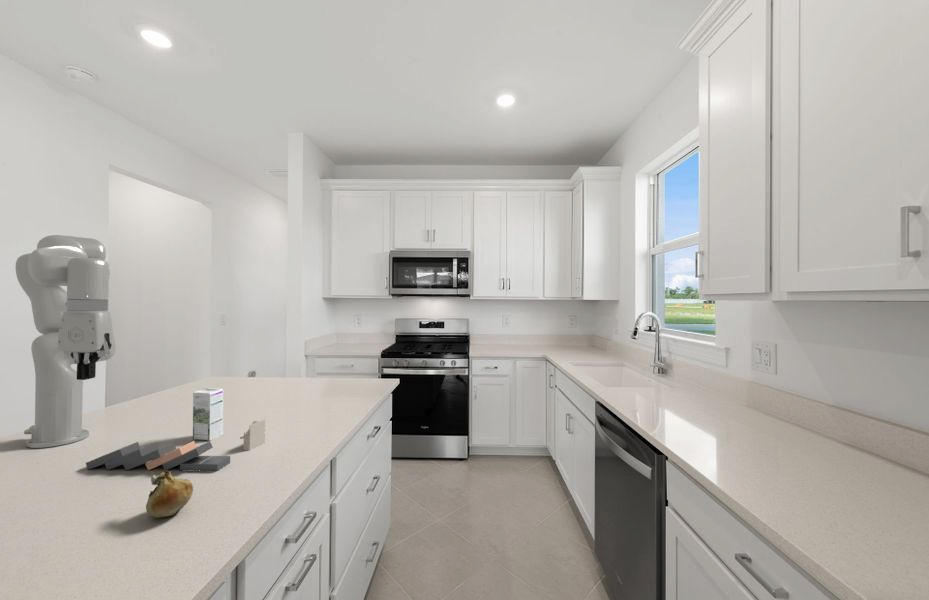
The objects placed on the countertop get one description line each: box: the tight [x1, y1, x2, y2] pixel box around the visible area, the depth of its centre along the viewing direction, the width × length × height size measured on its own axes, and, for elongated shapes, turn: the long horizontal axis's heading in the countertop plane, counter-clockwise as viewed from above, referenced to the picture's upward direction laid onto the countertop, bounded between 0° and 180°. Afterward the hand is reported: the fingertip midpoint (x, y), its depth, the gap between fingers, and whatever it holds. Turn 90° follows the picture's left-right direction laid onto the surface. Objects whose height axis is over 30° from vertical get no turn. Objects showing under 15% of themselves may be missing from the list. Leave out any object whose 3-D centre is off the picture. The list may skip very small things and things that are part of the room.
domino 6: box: [179, 455, 231, 472], centre depth 95 cm, size 2×5×9 cm
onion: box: [145, 469, 194, 519], centre depth 74 cm, size 8×8×8 cm
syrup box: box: [192, 387, 224, 442], centre depth 115 cm, size 6×6×14 cm
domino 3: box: [122, 442, 177, 471], centre depth 95 cm, size 2×5×9 cm
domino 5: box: [161, 440, 214, 471], centre depth 95 cm, size 2×5×9 cm
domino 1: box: [85, 441, 141, 470], centre depth 95 cm, size 2×5×9 cm
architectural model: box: [239, 419, 268, 451], centre depth 109 cm, size 3×7×7 cm, turn 165°
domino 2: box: [104, 441, 160, 471], centre depth 95 cm, size 2×5×9 cm
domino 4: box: [145, 440, 198, 471], centre depth 95 cm, size 2×5×9 cm
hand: (86, 378), depth 96 cm, fingers closed
